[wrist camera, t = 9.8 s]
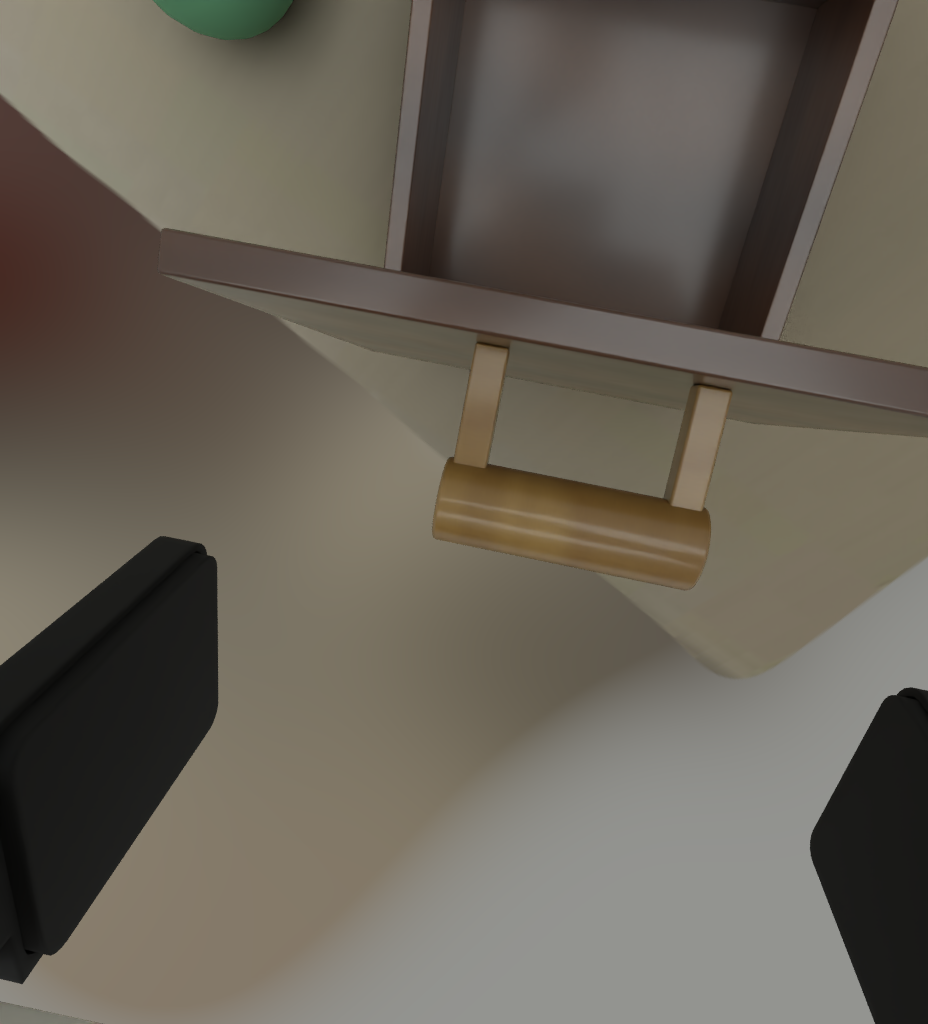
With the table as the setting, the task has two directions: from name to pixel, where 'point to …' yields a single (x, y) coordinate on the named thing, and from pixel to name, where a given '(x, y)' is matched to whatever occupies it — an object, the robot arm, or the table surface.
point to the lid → (569, 364)
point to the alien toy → (226, 16)
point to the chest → (628, 148)
